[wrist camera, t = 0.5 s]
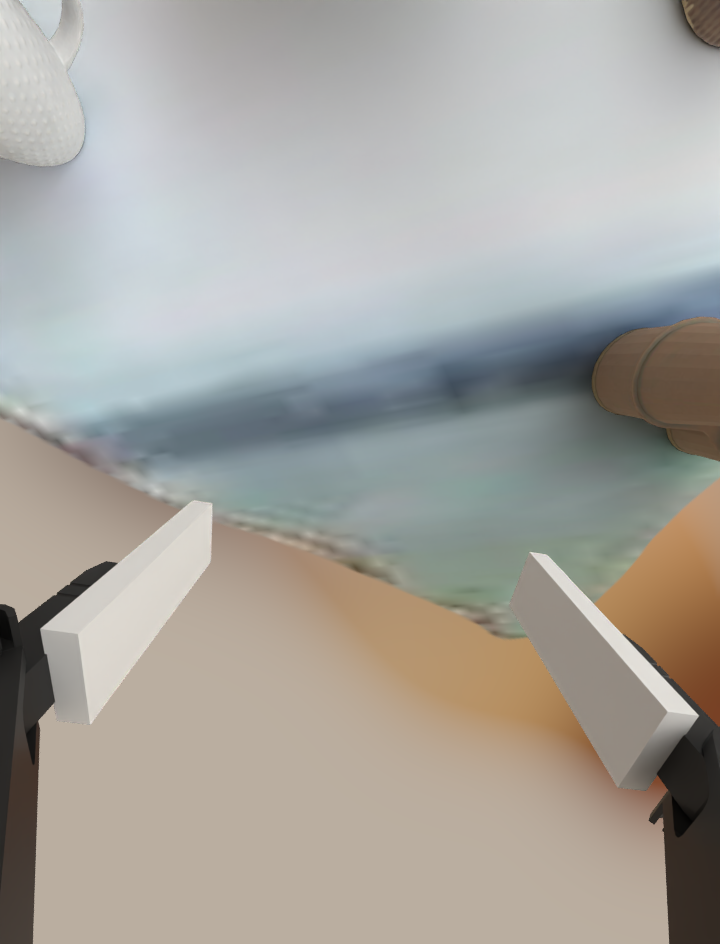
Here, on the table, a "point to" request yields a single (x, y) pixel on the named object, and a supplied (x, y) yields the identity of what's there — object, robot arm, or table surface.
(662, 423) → the binoculars
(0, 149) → the mug
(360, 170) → the table surface
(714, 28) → the lamp
